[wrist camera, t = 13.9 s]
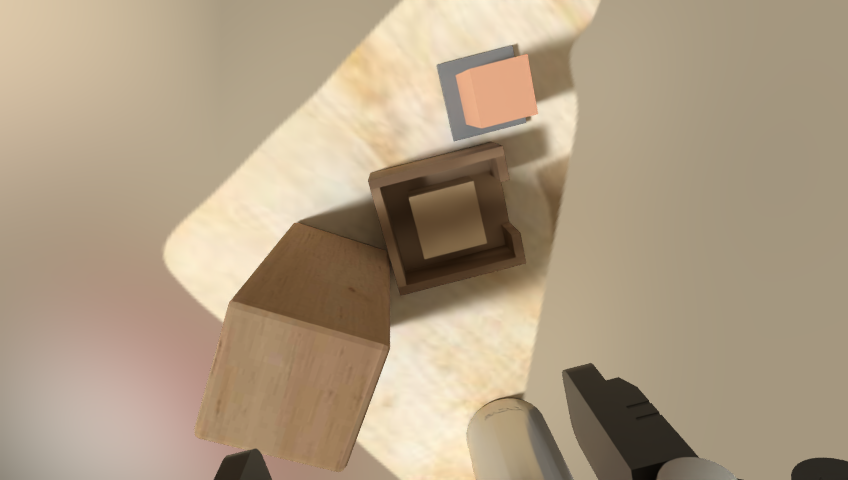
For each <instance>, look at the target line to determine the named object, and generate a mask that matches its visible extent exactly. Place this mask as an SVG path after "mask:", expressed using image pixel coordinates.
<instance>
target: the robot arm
mask: <svg viewBox="0 0 848 480" xmlns="http://www.w3.org/2000/svg"><path fill="white" fill-rule="evenodd" d="M562 376H563V382H564V387H565V392H566V398H567V403H568V408H569V414H570V419H571V423H572V427H573V430H574V433H575V436H576V439H577V441H578V443H579V445H580V447H581V449H582V451H583V453H584V455H585V456H586V458H587V460H588V462H589V463H590V465H591V467H592V469H593V471H594V472H595V474H596V476H597V478H598V480H741V479H737V478H736V477H735V476H734V475H733V474H732V473H731V472H730V471H729V470H727V469H726V468H724V467H723V466H721V465H719V464H717V463H715V462H712V461H710V460H706V459H703V458H699V457H698V456H697V455H696V454H695V453H694V451H693V450H692V449H691V448H690V447H689V446H688V444H687V443H686V442H685V441H684V440H683V439H682V438H681V437H680V435H679V434H678V433H677V432H676V431H675V430H674V429H673V427H672V426H671V425H670V424H669V423H668V422H667V421H666V419H665V418H664V417H663V416H662V415H660V414H659V411H658V410H657V409H656V408H655V407H654V406H653V405H652V403H650V402H649V400H648V399H647V398H646V397H645V395H644V394H643V393H642V392H641V391H640V390H639V389H638V388H637V387H636V386H634V385H632V384H630V383H629V382H627V381H625V380H623V379H621V378H619V377H618V378H614V379H610V380H607V381H606V380H605V379H604V378H603V376H602V375H601V374H600V373H599V371H598V370H597V369H596V367H595V366H594V365H593V364H592V363H589V364H585V365H581V366H577V367H574V368H570V369H566V370H563V372H562ZM467 443H468V448H469V452H470V456H471V461H472V466H473V470H474V475H475V479H476V480H574V479H573V477H572V475H571V473H570V471H569V469H568V467H567V465H566V463H565V460H564V458H563V456H562V454H561V452H560V450H559V448H558V447H557V444H556V442H555V440H554V438H553V436H552V434H551V432H550V430H549V428H548V426H547V424H546V422H545V420H544V418H543V416H542V414H541V413H540V412H539V410H538V409H537V408H536V407H535V406H533V405H532V404H530V403H528V402H526V401H524V400H520V399H512V398H506V399H500V400H496V401H494V402H491V403H489V404H487V405H485V406H484V407H482V408H481V409H480V410H479V411H478V412H477V413H476V414H475V415H474V416H473V418H472V419H471V421H470V423H469V425H468V430H467ZM214 480H272V478H271V476H270V473H269V471H268V468H267V466H266V464H265V461H264V459H263V456H262V454H261V452H260V451H259V450H258V449H256V448H255V449H251V450H247V451H244V452H239V453H235V454H232V455H228V456H226V457H225V458H224V459H223V461H222V463H221V465H220V468H219V470H218V472H217V474H216V476H215V478H214ZM791 480H848V462H847V461H844V460H839V459H834V458H812V459H808V460H805V461H802V462H800V463H799V464H797V466H795V467H794V469H793V470H792V474H791Z"/></svg>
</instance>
